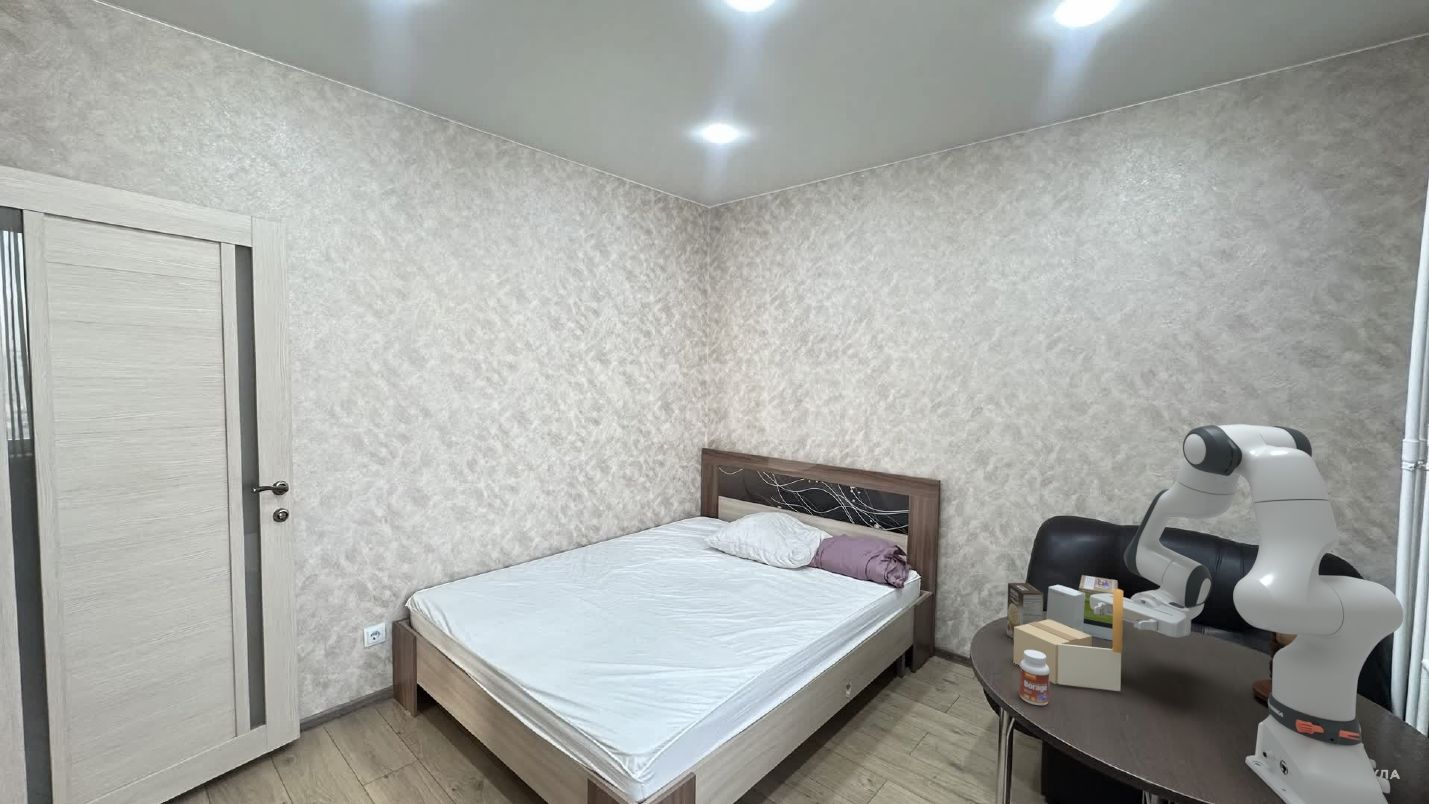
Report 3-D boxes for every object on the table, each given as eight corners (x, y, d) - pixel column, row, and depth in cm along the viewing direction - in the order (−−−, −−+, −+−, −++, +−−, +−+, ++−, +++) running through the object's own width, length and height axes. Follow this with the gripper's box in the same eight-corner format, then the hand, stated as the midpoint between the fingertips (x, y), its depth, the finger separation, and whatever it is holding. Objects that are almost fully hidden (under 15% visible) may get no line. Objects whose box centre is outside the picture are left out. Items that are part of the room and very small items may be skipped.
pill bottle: (1021, 703, 136) (1021, 657, 136) (1017, 690, 142) (1018, 646, 141) (1051, 708, 134) (1051, 661, 133) (1046, 695, 139) (1047, 650, 139)
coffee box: (1005, 634, 175) (1006, 582, 175) (1026, 634, 175) (1027, 582, 174) (1021, 647, 166) (1022, 592, 165) (1043, 648, 166) (1044, 592, 165)
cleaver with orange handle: (1057, 682, 145) (1059, 584, 144) (1119, 689, 141) (1121, 589, 141) (1060, 686, 143) (1061, 587, 142) (1122, 694, 139) (1124, 592, 139)
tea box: (1080, 618, 188) (1081, 573, 187) (1118, 626, 182) (1119, 579, 182) (1077, 634, 175) (1078, 586, 175) (1117, 642, 170) (1118, 593, 169)
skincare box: (1045, 634, 174) (1045, 586, 174) (1056, 630, 178) (1057, 583, 177) (1073, 645, 167) (1074, 595, 167) (1084, 641, 170) (1085, 591, 170)
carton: (1013, 663, 156) (1014, 626, 156) (1048, 654, 161) (1049, 618, 161) (1054, 684, 145) (1055, 644, 145) (1091, 673, 150) (1091, 635, 150)
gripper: (1109, 584, 154) (1074, 591, 149) (1197, 611, 135) (1162, 620, 130) (1108, 608, 154) (1074, 615, 149) (1197, 638, 136) (1161, 648, 130)
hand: (1116, 618), depth 139 cm, fingers open, 8 cm apart
